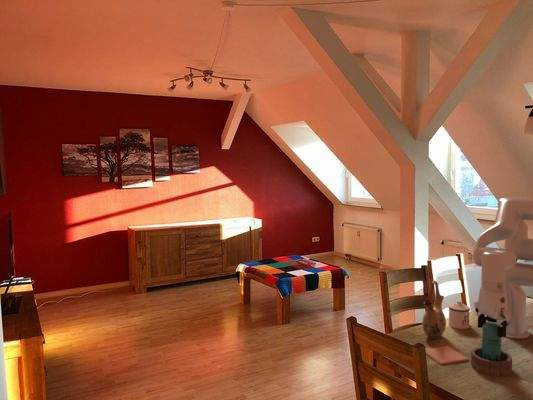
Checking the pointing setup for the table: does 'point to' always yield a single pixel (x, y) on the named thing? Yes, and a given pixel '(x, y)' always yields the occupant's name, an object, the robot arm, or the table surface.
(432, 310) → the ceramic vessel
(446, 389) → the table surface
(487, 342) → the beverage bottle
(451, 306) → the teacup with lid
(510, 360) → the walnut collar
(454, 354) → the terracotta tile
